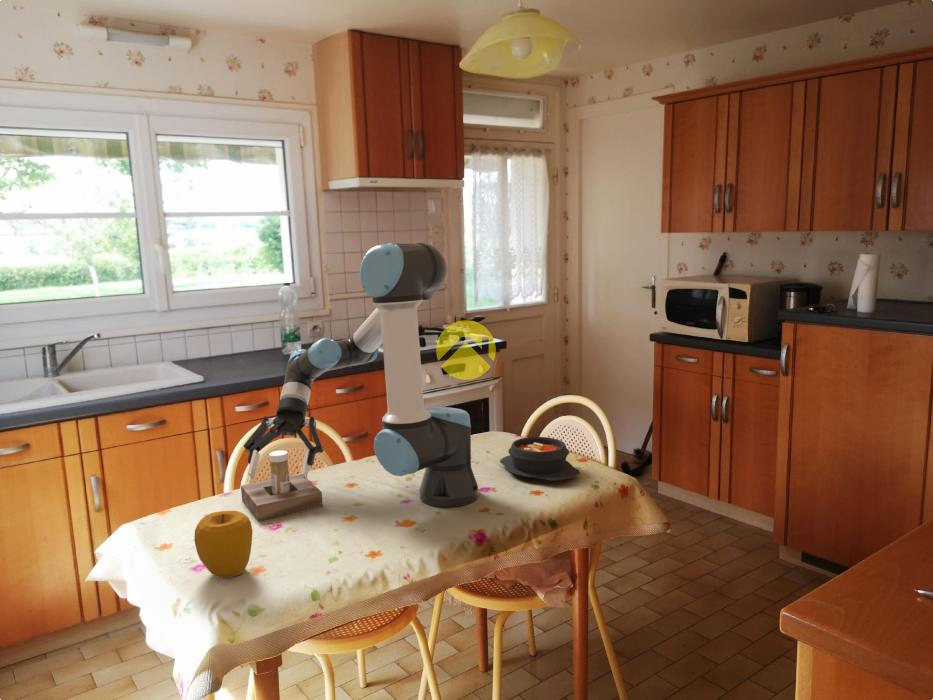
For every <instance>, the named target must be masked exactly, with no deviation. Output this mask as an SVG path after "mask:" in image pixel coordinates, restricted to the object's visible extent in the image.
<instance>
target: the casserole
mask: <svg viewBox="0 0 933 700" xmlns="http://www.w3.org/2000/svg"><path fill="white" fill-rule="evenodd" d="M510 445H511V446H510V447H509V448H508V455H506V456H504V457H502V458H500V459H499V463H500V464H501V465H503V467H505V469H506V470H507V471H508V472H510V473H511V474H514V475H516V476H519V477H524V478H526V479H527V478H528V479H535V480H537V479H538V480H544V481H549V482H550V481H551V482H559V481H565V480H569V479H572V478H574V477H576V476H578V475H580V473H581V472H580V470H579V469H578V468H576V467H575V466H573V465H572V464H571V463H570V462H569V461H568V460H567V457H568V456H569V455H570V450H569V449H568V448H567V445H566V443H565V442H564V441H562V440H560V439H558V438H553V437H547V436H531V437H530V436H529V437H523V438H522V437H521V438H519V439H516V440H514V441H513V442H512V443H511V444H510Z"/></svg>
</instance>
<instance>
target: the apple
mask: <svg viewBox="0 0 933 700" xmlns="http://www.w3.org/2000/svg"><path fill="white" fill-rule="evenodd" d="M193 537H194V545H195V549H196V553H197V555H198V558H199V561H200V562H201V563H202V564H203V566H204V567H205V568H206V569H207V571H208V572H209V573H210V574H211V575H213V576H215V577H217V578H220V579H229V578H233V577H236V576H240V575H241V574H242V573H243V572H245V570H246V569H247V566H248V563H249V561H250V557H251V551H252V545H253V527H252V522H251V520H250V518H249V516H248V515H246V514H245V513H243V512H241V511H238V510H222V511H221V510H220V511H214V512H211V513H209V514H207V515H205V516H204V517H202V518H201V519H200V520H199V521H198V523H197V525H196V527H195V529H194V536H193Z"/></svg>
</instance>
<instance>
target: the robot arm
mask: <svg viewBox="0 0 933 700" xmlns="http://www.w3.org/2000/svg"><path fill="white" fill-rule="evenodd" d="M447 267H448V266H447V262H446V258H445V256H444V254H443V253H442V252H441V251H440V250H439V249H438V248H437V247H436V246H434V245H432V244H429V243H425V242H416V243H415V242H413V243H409V242H408V243H407V242H406V243H390V242H389V243H384V244H377V245H375V246H373V247H372V248H370V249H369V250H368V251H367V252H366V254H365V255H364V256H363V259H362V260H361V264H360V269H359V280H360V284H361V287H362V288H363V289H364V292H365V293H366V294H367V295H369V296H371V298H372V305H373V306H375V307H376V308H375V309H374V310H373V311H372V312H371V313H370V314H369V316H368V317H367V318H366V319H365V321H364V322H363V323H362V324H361V325H360V326H359V327H358V329H356V330H355V332H353V334H352V335H351V336H349V338H347V339H342V340H334V339H331V338H328V337H324V338H321V339H319V340H317V341H316V342H314V343H312V345H311V346H309V347H308V348H307V349H301V348H300V349H299V350H294V351H293V352H292V353H291V354H290V357H289V359H288V362H287V367H286V372H285V376H284V382H283V385H282V388H281V392H280V396H279V401H278V406H277V409H276V416H275V417H274V418H268V416H266V415H265V416H264V417H263V418H262V420H261V423H260V424H259V425H258V427H257V428H256V429H255V430H254V432H253V433H252V434H251V436H250V437H249V438H248V439H247V441H245V443H244V444H243V448H244V449H245V450H246V451H247V452H248V453H249V454H248V458H247V463H248V464H249V466H248V470H247V475H248V476H249V477H250V478H251V479H255V476H256V473H257V472H256V471H257V467H258V464H259V460H260V453H259V452H261V450H263V449H264V448H265V447H266V446H267V445H268V444H270V443H271V442H272V441H273V440H274V439H277V438H278V437H280V436H284V437H285V436H290V437H291V436H292V437H294V436H295V435H297V436H298V437H299V438H300V440H301V441H302V443H303V445H305V447H306V448H307V450H305V452H304V458H303V463H302V467H301V472H300V474H301V475H302V477H303V478H304V479H308V474H309V470H310V466H311V467H312V466H313V465H314V462H315V458H316V454H318V453H320V454H321V453H323V452H324V448H323V444H322V442H321V439H320V436H319V433H318V430H317V421H316V419H315V417H314V416H310V417H309V418H306V416H307V412H308V405H309V401H310V397H311V393H312V392H311V391H312V388H313V383H314V381H315V380H316V378H318V377H320V376H321V375H323V374H324V373H326V372H329V371H333V370H338V369H344V368H348V367H353V366H354V367H355V366H359V365H366V364H368V363H370V362H371V363H372V362H373V361H375V360H376V359H377V357H378V353H379V347H380V346H381V345H382V352H383V363H384V364H383V365H384V366H383V367H384V378H385V389H386V402H387V411H386V412H385V414H384V415H383V417H382V419H381V420H382V422H381V423H382V429H381V430H380V431H379V432H378V433H377V434H376V436H375V438H374V440H373V451H374V453H375V456H376V459H377V462H379V464H380V465H381V467H383V469H384V470H385V471H386V472H387V473H389V474H390V475H393V476H396V477H404V476H407V475H412V474H415V473H417V472H418V471H419V472H420V471H421V470H424V472H423V476H422V480H421V484H420V487H419V498H420V501H421V502H423V503H424V504H426V505H429V506H433V507H440V508H441V507H442V508H451V507H462V506H465V505H469V504H471V503H473V502H474V501H475V502H476V500H477V499H478V498H479V485H478V481H477V480H476V477H475V474H474V470H473V468H472V437H471V435H472V432H471V430H472V429H471V428H472V425H471V417H470V414H469V413H468V411H466V410H464V409H462V408H455V407H447V406H433V407H427V408H425V403H424V401H425V400H424V391H423V389H424V388H423V387H424V386H423V375H422V361H421V348H420V334H419V320H418V318H419V317H418V308H419V306H420V304H421V303H422V302H426V301H429V300H431V299H432V297H433V296H435V294H436V293H438V291H439V290H440V289H441V287H442V286H443V285H444V283H445V280H446V277H447V273H448V272H447V271H448V268H447ZM272 425H273V426H272ZM306 425H307V428H309V429H310V430H309V431H310V432H311V435H312V437H313V438H312V439H313V441H314V444H315V446H313V444H312V442H310V440H309V439H308V438H307V436H306V434H305V433H304V432H303V430H302V429H303V428H304V427H305V426H306ZM268 430H269V431H268Z"/></svg>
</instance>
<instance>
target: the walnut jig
mask: <svg viewBox="0 0 933 700" xmlns="http://www.w3.org/2000/svg"><path fill="white" fill-rule="evenodd" d="M289 484H290V492H287V493H282V494H277V495H273V493H272V482H271V479H268V480H263V481H256V482H252V483H248V484H241V485H240V494H241V501H242V502H243V504H244V505H245V507H246V508H247V509H248V510H249V512H250V513H251V514H252V516H253V517H254V518H255V520H256V521H257V522H261V521H263V522H264V521H266V520H270V519H275V518H280V516H281V517H285V516H289V514H290V515H293V513H294V514H297V512H299V513H303V512H307V510H308V511H312V510H316V509H315V508H317V509H320V508H319V507H322V508H323V506H324V505H323V493H322V491H321V490H320V489H319V488H318V487H317V486H316V485H315V484H313V483H312V481H310V480H309V479H308V478H307V479H304V478H303V477H302V475H301V473H300V474H299V473H298V474H293V475H289ZM311 509H312V510H311ZM302 511H303V512H302Z"/></svg>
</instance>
